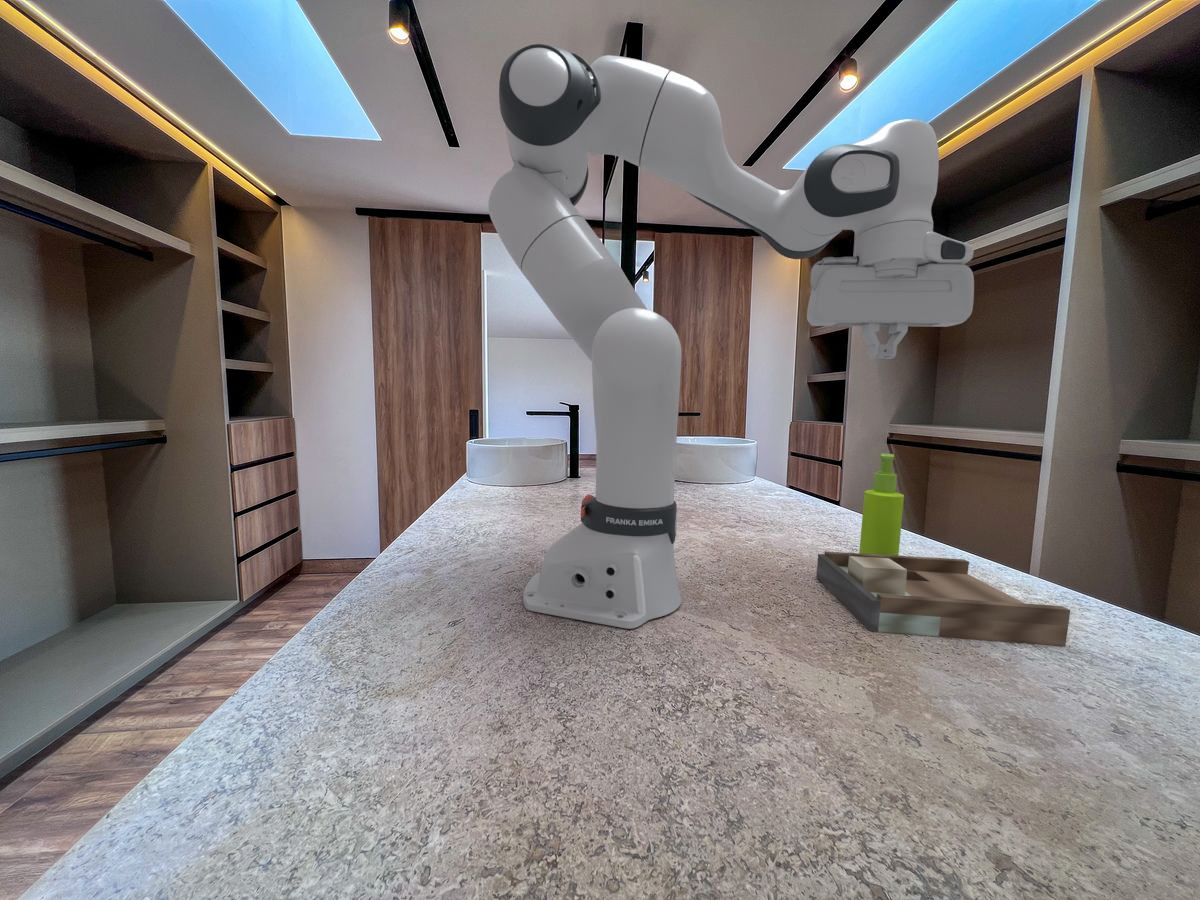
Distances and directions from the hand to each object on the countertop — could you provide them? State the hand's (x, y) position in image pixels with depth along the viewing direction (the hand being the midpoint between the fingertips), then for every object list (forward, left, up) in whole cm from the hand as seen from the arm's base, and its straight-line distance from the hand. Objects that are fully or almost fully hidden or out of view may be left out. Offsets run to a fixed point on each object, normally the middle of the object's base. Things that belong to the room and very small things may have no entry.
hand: (881, 358), depth 60 cm
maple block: (+1, -2, -33) cm, 33 cm away
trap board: (+7, -2, -35) cm, 36 cm away
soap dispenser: (+10, +15, -35) cm, 39 cm away
